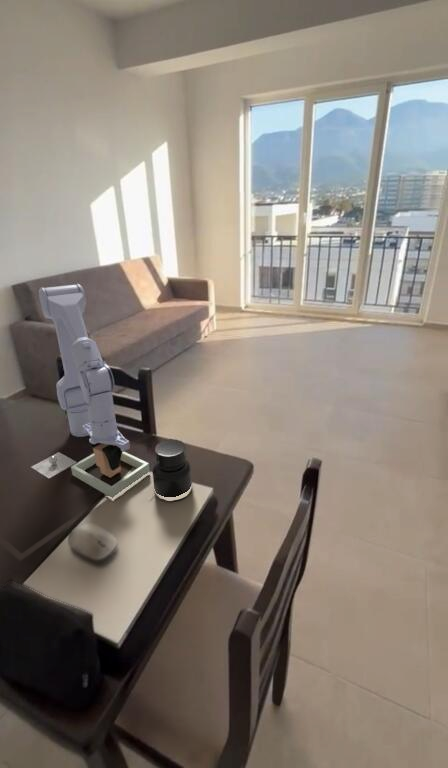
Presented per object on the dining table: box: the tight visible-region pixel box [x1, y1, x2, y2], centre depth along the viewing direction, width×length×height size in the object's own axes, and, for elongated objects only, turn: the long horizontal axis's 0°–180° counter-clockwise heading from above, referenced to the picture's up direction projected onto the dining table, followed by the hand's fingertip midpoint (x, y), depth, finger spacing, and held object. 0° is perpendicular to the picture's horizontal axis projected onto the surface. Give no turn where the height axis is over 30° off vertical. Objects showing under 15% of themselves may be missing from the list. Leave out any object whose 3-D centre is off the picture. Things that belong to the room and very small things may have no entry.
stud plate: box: [30, 451, 78, 479], centre depth 99 cm, size 8×8×4 cm
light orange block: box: [92, 443, 122, 478], centre depth 94 cm, size 3×5×8 cm, turn 145°
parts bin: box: [70, 451, 151, 498], centre depth 96 cm, size 12×15×4 cm
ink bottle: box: [152, 439, 193, 497], centre depth 89 cm, size 10×9×12 cm
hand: (110, 465), depth 95 cm, fingers closed on light orange block, 3 cm apart
